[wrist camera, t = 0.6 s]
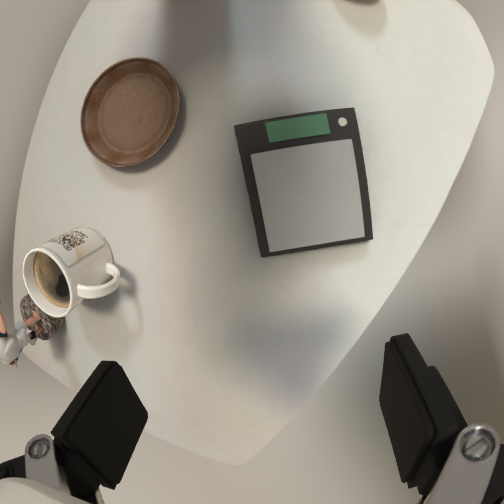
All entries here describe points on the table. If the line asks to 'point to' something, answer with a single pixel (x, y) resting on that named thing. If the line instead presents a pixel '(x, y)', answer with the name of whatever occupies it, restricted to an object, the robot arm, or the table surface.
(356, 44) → the table surface
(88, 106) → the saucer
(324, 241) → the scale
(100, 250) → the mug
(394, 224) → the table surface
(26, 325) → the figurine
